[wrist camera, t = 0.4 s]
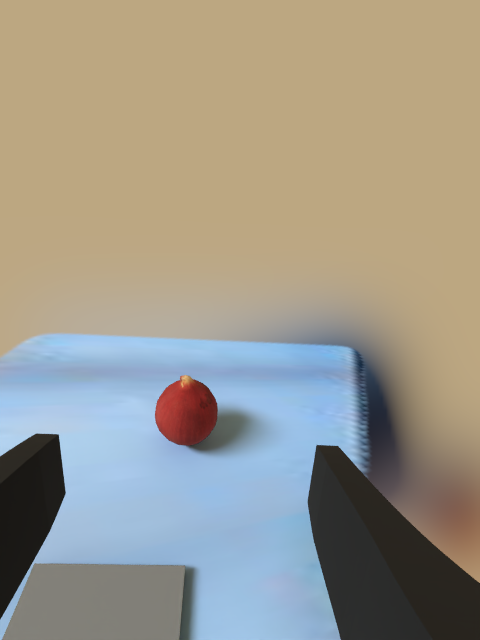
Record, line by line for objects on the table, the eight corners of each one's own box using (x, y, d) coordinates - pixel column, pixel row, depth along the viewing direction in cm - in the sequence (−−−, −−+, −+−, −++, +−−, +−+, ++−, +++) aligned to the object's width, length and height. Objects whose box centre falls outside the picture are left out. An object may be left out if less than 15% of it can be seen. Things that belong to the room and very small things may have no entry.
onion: (201, 414, 39) (206, 353, 36) (224, 453, 35) (232, 388, 31) (148, 428, 37) (147, 364, 33) (165, 472, 32) (167, 404, 29)
